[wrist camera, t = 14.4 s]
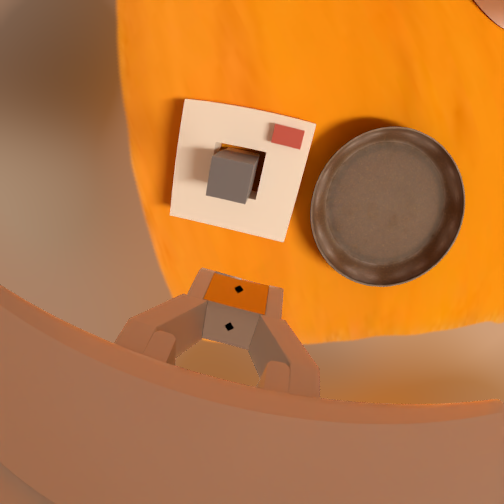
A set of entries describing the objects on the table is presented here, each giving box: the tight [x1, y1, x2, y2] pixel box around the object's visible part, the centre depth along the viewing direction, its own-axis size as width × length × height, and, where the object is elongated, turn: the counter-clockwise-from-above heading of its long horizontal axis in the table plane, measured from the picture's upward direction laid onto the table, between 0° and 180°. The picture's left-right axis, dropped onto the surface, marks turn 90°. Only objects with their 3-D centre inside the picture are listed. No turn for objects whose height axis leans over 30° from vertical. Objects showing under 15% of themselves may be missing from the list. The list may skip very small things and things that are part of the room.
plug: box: [206, 147, 260, 204], centre depth 29 cm, size 4×4×7 cm
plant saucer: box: [310, 127, 465, 287], centre depth 30 cm, size 21×21×3 cm
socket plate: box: [170, 99, 316, 242], centre depth 30 cm, size 14×14×4 cm
